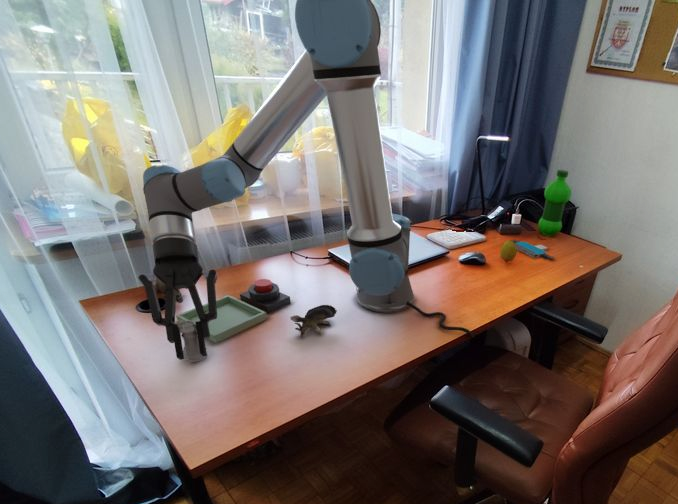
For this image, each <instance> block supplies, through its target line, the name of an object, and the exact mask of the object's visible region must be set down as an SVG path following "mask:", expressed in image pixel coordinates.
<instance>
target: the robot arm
mask: <svg viewBox="0 0 678 504" xmlns="http://www.w3.org/2000/svg"><path fill="white" fill-rule="evenodd" d="M294 20H295V21H294V22H295V27H296V32H297V34H298V37H299V39H300V41H301V45H302V46H303V47H304V49H305V50H304V52H303V53H302V54H301V55H300V57H298V59H297V60H296V61H295V63H294V64H293V65H292V67H291V68H290V70H288V72H287V73H286V74H285V76H284V77H283V78H282V80H281V81H279V83H278V85H277V86H276V87H275V88H274V90H273V91H272V92H271V93H270V95H269V96H268V98H266V99H265V101H264V102H263V104H262V105H261V106H260V107H259V109H258V110H256V113H255V114H254V115H253V116H252V118H251V119H250V120H249V122H248V123H246V125H245V127H244V128H243V129H242V130H241V131H240V132H239V134H238V135H237V137H236V138H235V139H234V141H233V142H232V143H231V144H230V146H229V147H228V148H227V150H226V151H225V152H224V154H222V155H221V156H218V157H216V158H214V159H213V160H210V161H207V162H204V163H203V164H199V165H197V166H194V167H191V168H189V169H187V170H183V171H182V170H180V169H178V168H177V167H174V166H172V165H165V164H162V165H161V166H160V165H156V164H155V165H151V166H149V167H147V168H146V169H145V170H144V171H143V174H142V180H143V183H142V185H143V188H142V191H143V195H144V199H145V204H146V209H147V217H148V226H149V232H150V239H151V242H152V252H153V258H154V267H153V268H152V272H150V273H147V274H146V275H145V274H140V275H138V280H139V281H140V282H141V284H142V285H143V286H144V291H145V294H146V298H147V302H148V306H149V311H150V315H151V319H152V321H153V323H155V324H156V325H157V326H159V327H160V326H162V327H165V333H166V338H167V341H168V342H169V343H170V344H174V349H175V356H176V359H178V360H180V361H181V360H185V359H184V354H183V350H184V347H183V342H182V341H183V340H182V333H181V332H180V331H179V330H178V328H179V324H177V323H176V305H177V301H176V294H177V290H181V289H185V290H188V292H189V295H190V298H191V301H192V303H193V306H194V308H195V309H196V311H197V314H198V317H199V319H200V321H197V322H195V323H196V330H197V336H198V342H199V349H200V354H201V355H202V356H208V355H207V352H206V348H207V346H206V340H205V339H207V338H210V332H209V326H208V323H209V321H211V320H213V319H217V305H216V300H217V293H216V284H217V280H218V273H217V271H216V270H215V269H210V270H209V269H207V268H203V266H202V264H201V263H200V258H199V251H198V245H197V244H196V242H197V240H196V233H195V227H194V223H193V222H194V221H193V213H195V212H199V211H202V210H205V209H208V208H211V207H214V206H218V205H221V204H224V203H230V202H232V201H234V200H236V199H239V198H241V197H242V196H244V195H245V193H246V189H247V188H249V187H252V186H253V185H254V184H255V183H256V182H257V181H258V180H259V178H260V177H261V173H263V171H264V170H265V168H266V167H267V166H268V165H269V163H270V162H271V161H273V159H274V157H275V156H276V155H277V154H278V153H279V152H280V151H281V149H282V148H283V147H284V146H285V145H286V143H287V142H288V141H289V140H290V139H291V138H292V136H294V134H296V132H297V131H298V130H299V128H300V127H301V126H302V125H303V123H305V122H306V120H307V119H308V118H309V117H310V115H311V114H313V112H314V111H315V110H316V108H317V107H318V106H319V105H320V104H321V103H322V101H324V99H325V98H327V103H328V108H329V113H330V118H331V123H332V124H331V125H332V129H333V134H334V138H335V145H336V149H337V154H338V159H339V163H340V165H339V166H340V169H341V174H342V179H343V184H344V185H343V186H344V190H345V194H346V199H347V205H348V210H349V214H350V220H351V226H350V228H349V229H348V230H347V232H346V236H347V242H348V246H349V247H348V248H349V252H350V256H351V258H350V260H349V264H348V266H349V267H348V270H349V271H348V272H349V277H350V279H351V281H352V283H353V284H354V286H355V291H356V301H357V303H358V304H359V305H360V306H361V307H362V308H364V309H366V310H368V311H371V312H375V313H382V314H392V313H393V314H394V313H398V312H402V311H405V310H407V309H410V308H412V309H413V310H415V311H416V312H418V314H420V315H421V316H424V317H427V318H430V317H436V316H441V319H439V322H438V325H439V327H440V328H441V329H443V330H446V331H460V332H464V333H466V334H468V336H469V337H470V338H475V335H474V334H473V333H472V332H471V330H469V329H467V328H466V327H463V326H462V327H461V326H448V325H446V324H445V325H444V322H445V320H446V318H447V316H446V314H445V313H444V312H440V311H436V312H431V313H430V312H429V313H427V312H424V311H423V310H422V309H420V308H419V307H418V306H416V305H415V304H414V295H415V294H414V290H413V288H412V284H411V280H410V276H409V260H410V259H409V258H410V238H411V232H412V228H411V221H410V219H409V218H408V217H407V216H404V215H402V214H396V213H393V211H392V203H391V197H390V190H389V183H388V177H387V176H388V175H387V169H386V161H385V154H384V146H383V140H382V132H381V126H380V120H379V119H380V118H379V112H378V111H379V110H378V104H377V96H376V90H375V88H376V86H377V84H378V82H379V81H380V79H381V77H382V71H381V63H380V54H379V45H380V42H381V34H382V29H381V28H382V27H381V20H380V16H379V14H378V11H377V9H376V6H375V4H374V3H373V1H372V0H296V3H295V7H294ZM202 276H203V278H204V280H205V281H206V293H207V303H208V309H209V313H207V314H205V311H204V308H203V305H204V304H203V302H202V300H201V296H200V295H199V292H198V289H197V286H196V285H197V283H198V282H199V280H200V279H201V277H202ZM156 278H158V279H159V280H160V281H162V282H163V283H164V284H165V285H166V286H165V289H166V299H165V300H164V302H165V304H164V317H163V315H162V311H161V307H160V303H159V298H158V294H157V291H156V290H155V288H156V287H155V284H156V281H155V280H156Z"/></svg>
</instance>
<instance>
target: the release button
mask: <svg viewBox="0 0 678 504" xmlns="http://www.w3.org/2000/svg"><path fill="white" fill-rule="evenodd" d="M272 283H273V282H272V281H271V279H266V278H259V279H256V280H255V281H254V282H253V284H254V286H255V291H256V292H262V293H263V292H269V291H271V290H272Z"/></svg>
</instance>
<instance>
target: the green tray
mask: <svg viewBox="0 0 678 504" xmlns="http://www.w3.org/2000/svg"><path fill="white" fill-rule="evenodd" d="M202 305H203V308H204V311H205V314H207V313H209V309H208V302H207V303H205V304H202ZM216 305H217V319H213V320H211V321H209V323H208V326H209V332H210V338H206V339H208V340H209V341H211V342H213V343H215V344H217V343H220V342H222V341H224V340H226V339H228V338H230V337H232V336H234V335H236V334H238V333H241V332H243V331H245V330H247V329H249V328H252V327H253V326H256V325H258V324H259V323H261V322H263V321H266V320H267V319H268V317H267V313H266V312H264V311H262V310H260V309H258V308H256V307H254V306H251V305H249V304H247V303H245V302H243V301H241V299H238V298H236V297H234V296H233V295H230V294H227V295H224V296H222V297H220V298H216ZM175 319H176V322H177V323H178V324H179V323H182V322H183V321H185V323H187V321H188V320H190V321H193V322H194V324H196V323H195V322H197V321H200V319H199V317H198V314H197V311H196V309H195V307H194V308H191V309H189V310H186V311H184V312H182V313H179V314H175ZM182 324H183V323H182ZM196 331H197V330H196Z"/></svg>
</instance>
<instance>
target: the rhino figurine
mask: <svg viewBox="0 0 678 504" xmlns="http://www.w3.org/2000/svg"><path fill="white" fill-rule="evenodd" d="M155 281H156V284H155V285H154V288H155V290H156V292H161V293H162V294H163V295H164V296H163V298H162V300H163V301H165V299H166V289H165V286H166V285H165V284H164V283H163V282H162V281H160V280H159V279H158V278H156V280H155ZM176 303H178V304H182V303H184V299H183V297H182V293H181V291H180V289H178V290H177V294H176Z"/></svg>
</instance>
